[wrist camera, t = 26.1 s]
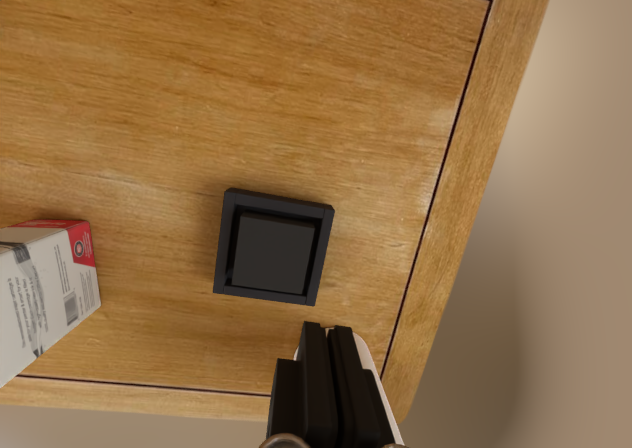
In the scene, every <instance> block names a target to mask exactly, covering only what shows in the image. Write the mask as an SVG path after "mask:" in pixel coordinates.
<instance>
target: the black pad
mask: <svg viewBox="0 0 632 448" xmlns="http://www.w3.org/2000/svg"><path fill="white" fill-rule="evenodd" d="M314 230H315V228H314V224H313V221H311V220H305V219H299V218H293V217H287V216H281V215H275V214H269V213H263V212H258V211H252V210H245V211H244V213H243V214H242V215H241V217H240V225H239V232H238V240H237V247H236V254H235V262H234V269H233V277H232V285H239V286H246V287H253V288H260V289H268V290H275V291H282V292H289V293H297V294H302V290H303V285H304V280H305V275H306V270H307V265H308V260H309V255H310V250H311V245H312V240H313V235H314Z"/></svg>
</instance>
